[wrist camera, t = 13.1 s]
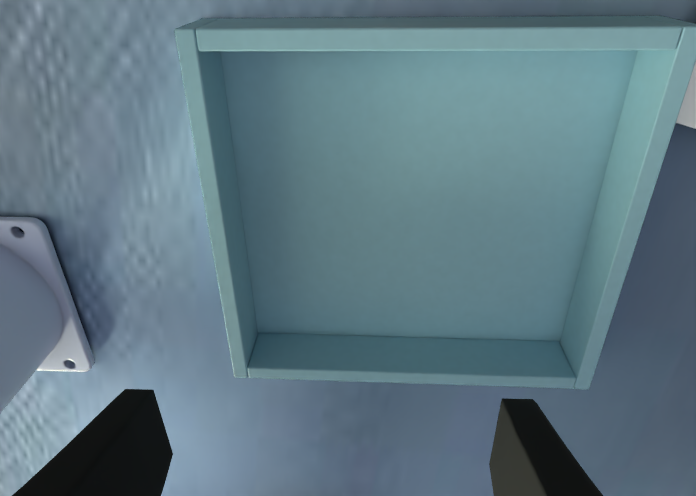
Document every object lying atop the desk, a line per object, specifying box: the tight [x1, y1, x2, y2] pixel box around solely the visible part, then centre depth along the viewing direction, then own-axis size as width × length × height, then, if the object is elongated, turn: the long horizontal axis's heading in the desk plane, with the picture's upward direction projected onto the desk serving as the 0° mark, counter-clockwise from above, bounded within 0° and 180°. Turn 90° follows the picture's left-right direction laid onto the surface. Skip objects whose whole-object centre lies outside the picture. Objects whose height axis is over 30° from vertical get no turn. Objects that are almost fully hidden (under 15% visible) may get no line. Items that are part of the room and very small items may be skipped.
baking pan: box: [174, 16, 696, 390], centre depth 18 cm, size 14×13×2 cm
